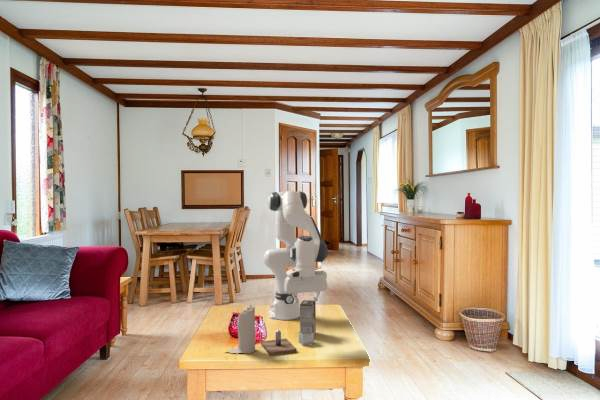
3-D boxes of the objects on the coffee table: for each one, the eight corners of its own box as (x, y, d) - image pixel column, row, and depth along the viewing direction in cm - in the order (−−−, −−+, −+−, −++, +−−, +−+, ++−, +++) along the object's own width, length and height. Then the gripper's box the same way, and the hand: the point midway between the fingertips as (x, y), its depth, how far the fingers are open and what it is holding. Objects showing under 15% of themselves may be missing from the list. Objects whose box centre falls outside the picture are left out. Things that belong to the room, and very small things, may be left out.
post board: (261, 344, 193) (261, 341, 193) (286, 341, 197) (286, 338, 197) (269, 355, 179) (269, 352, 179) (296, 352, 183) (296, 348, 183)
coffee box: (303, 331, 212) (303, 299, 212) (316, 332, 210) (315, 300, 210) (299, 337, 203) (299, 304, 203) (313, 338, 201) (312, 304, 201)
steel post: (275, 344, 189) (274, 330, 189) (280, 343, 189) (280, 329, 189) (276, 346, 186) (276, 331, 186) (281, 345, 187) (281, 330, 187)
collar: (298, 342, 196) (298, 331, 196) (309, 340, 198) (309, 330, 198) (302, 345, 191) (302, 334, 191) (313, 344, 193) (313, 333, 193)
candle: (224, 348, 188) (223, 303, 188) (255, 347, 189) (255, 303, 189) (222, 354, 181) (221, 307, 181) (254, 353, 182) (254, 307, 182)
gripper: (323, 269, 201) (324, 298, 201) (282, 272, 194) (283, 302, 194) (329, 271, 195) (329, 301, 195) (287, 274, 188) (287, 305, 188)
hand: (306, 301), depth 195 cm, fingers open, 8 cm apart
